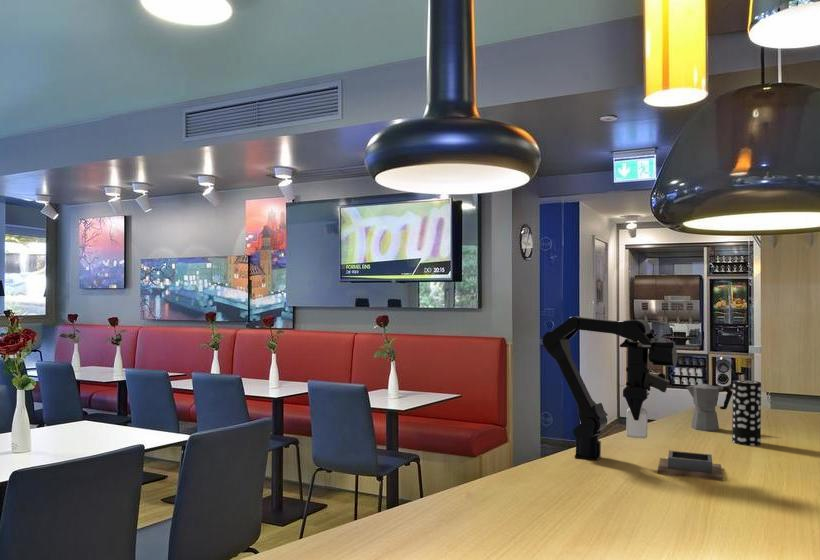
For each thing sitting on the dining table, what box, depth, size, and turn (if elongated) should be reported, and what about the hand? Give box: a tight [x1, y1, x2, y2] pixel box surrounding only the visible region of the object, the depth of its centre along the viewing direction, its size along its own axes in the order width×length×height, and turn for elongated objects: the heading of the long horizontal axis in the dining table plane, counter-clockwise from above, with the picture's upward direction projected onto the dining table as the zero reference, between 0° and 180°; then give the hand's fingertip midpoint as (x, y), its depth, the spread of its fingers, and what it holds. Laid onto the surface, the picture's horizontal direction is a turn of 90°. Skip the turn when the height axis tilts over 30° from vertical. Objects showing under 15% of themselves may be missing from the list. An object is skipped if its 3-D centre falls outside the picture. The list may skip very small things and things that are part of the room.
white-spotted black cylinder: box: [731, 379, 762, 447], centre depth 221 cm, size 8×8×20 cm
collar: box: [667, 450, 713, 473], centre depth 185 cm, size 11×9×3 cm
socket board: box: [657, 457, 724, 482], centre depth 185 cm, size 16×14×1 cm
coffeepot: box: [685, 378, 733, 432], centre depth 243 cm, size 15×9×18 cm, turn 70°
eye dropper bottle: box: [625, 404, 648, 439], centre depth 191 cm, size 4×6×12 cm
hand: (636, 419), depth 191 cm, fingers closed on eye dropper bottle, 3 cm apart
